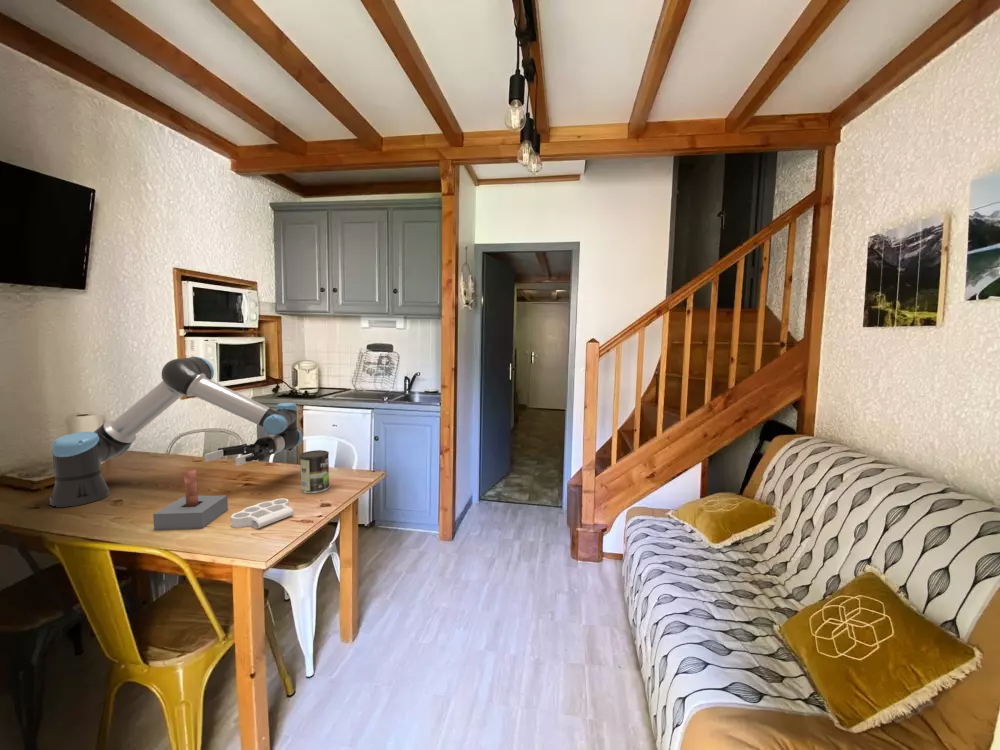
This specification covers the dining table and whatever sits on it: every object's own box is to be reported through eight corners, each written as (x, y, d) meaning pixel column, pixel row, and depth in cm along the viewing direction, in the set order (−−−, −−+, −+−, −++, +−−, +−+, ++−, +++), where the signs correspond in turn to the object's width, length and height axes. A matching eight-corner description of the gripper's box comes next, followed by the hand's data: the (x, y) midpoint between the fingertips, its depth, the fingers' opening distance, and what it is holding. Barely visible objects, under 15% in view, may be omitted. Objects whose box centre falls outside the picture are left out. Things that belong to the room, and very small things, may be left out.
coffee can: (333, 484, 167) (333, 450, 166) (322, 493, 157) (321, 457, 156) (308, 483, 168) (307, 449, 166) (295, 493, 157) (294, 457, 156)
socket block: (154, 529, 127) (153, 514, 127) (184, 510, 141) (183, 496, 141) (202, 528, 128) (201, 512, 128) (227, 509, 142) (227, 495, 142)
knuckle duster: (248, 535, 125) (223, 523, 133) (303, 513, 141) (277, 504, 148) (247, 524, 125) (222, 513, 132) (302, 504, 140) (277, 495, 148)
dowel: (184, 521, 133) (181, 472, 132) (191, 517, 136) (188, 469, 135) (195, 520, 133) (192, 472, 132) (201, 516, 137) (198, 469, 135)
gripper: (295, 457, 163) (249, 474, 143) (244, 451, 170) (193, 466, 149) (294, 439, 163) (249, 453, 142) (243, 433, 169) (193, 446, 149)
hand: (220, 460), depth 146 cm, fingers open, 13 cm apart
